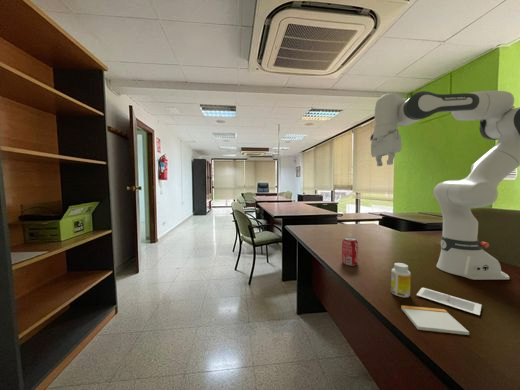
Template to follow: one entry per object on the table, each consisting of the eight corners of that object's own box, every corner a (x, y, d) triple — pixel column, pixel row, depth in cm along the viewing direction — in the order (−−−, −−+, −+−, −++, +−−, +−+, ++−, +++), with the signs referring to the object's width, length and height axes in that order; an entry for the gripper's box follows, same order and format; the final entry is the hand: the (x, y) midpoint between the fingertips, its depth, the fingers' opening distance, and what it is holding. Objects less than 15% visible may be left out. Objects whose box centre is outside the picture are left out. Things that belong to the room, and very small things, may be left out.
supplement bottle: (413, 295, 73) (414, 266, 73) (403, 299, 71) (404, 269, 70) (397, 288, 78) (398, 260, 78) (387, 292, 76) (388, 263, 75)
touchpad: (479, 319, 62) (479, 311, 62) (416, 298, 73) (416, 291, 73) (481, 308, 67) (481, 301, 67) (422, 290, 78) (422, 284, 78)
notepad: (444, 312, 64) (444, 309, 64) (469, 335, 55) (469, 331, 55) (401, 308, 66) (401, 305, 66) (417, 329, 57) (417, 325, 57)
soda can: (355, 261, 105) (355, 236, 105) (360, 266, 98) (360, 240, 98) (339, 260, 106) (340, 236, 105) (344, 266, 99) (344, 240, 98)
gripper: (406, 127, 84) (405, 163, 85) (382, 137, 104) (381, 166, 105) (389, 127, 84) (388, 163, 85) (368, 138, 105) (367, 167, 105)
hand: (384, 165), depth 95 cm, fingers open, 8 cm apart
